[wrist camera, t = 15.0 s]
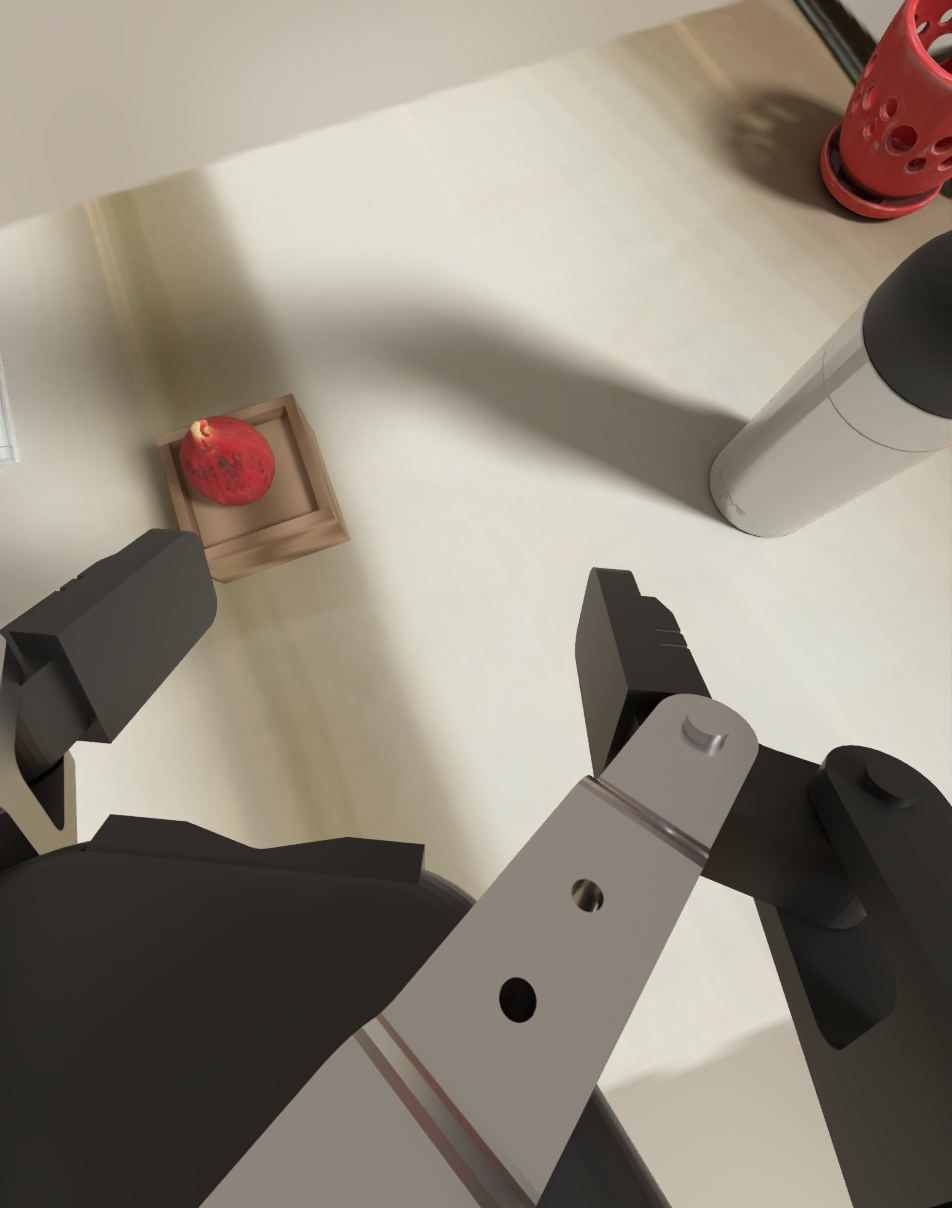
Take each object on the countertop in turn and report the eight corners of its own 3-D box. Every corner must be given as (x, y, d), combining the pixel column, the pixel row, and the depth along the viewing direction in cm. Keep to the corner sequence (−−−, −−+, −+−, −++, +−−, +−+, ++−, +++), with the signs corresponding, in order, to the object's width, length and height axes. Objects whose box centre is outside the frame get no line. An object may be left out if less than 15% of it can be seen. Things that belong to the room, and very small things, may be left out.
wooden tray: (312, 430, 44) (292, 393, 39) (350, 539, 42) (333, 515, 37) (192, 470, 43) (154, 437, 38) (224, 583, 41) (189, 565, 36)
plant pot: (777, 165, 50) (870, -2, 39) (878, 113, 52) (997, -62, 40) (862, 259, 48) (989, 113, 36) (965, 202, 50) (1118, 45, 38)
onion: (302, 501, 38) (259, 448, 30) (230, 534, 38) (167, 488, 30) (273, 438, 39) (223, 371, 31) (202, 469, 39) (134, 408, 31)
